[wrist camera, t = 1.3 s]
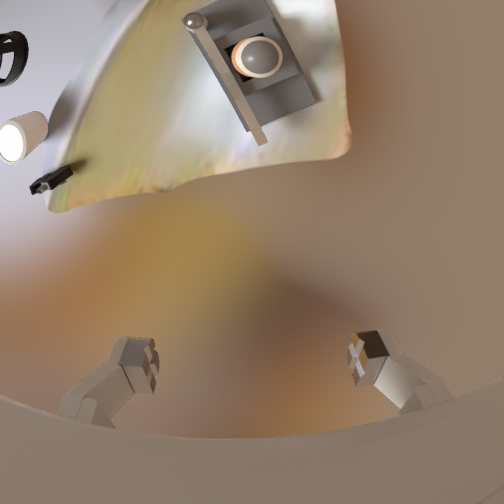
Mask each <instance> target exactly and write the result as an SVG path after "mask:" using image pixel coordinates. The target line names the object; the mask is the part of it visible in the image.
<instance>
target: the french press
mask: <svg viewBox="0 0 504 504" xmlns="http://www.w3.org/2000/svg"><path fill="white" fill-rule="evenodd" d="M8 39H11V41H12V42H7V43H4V42H5V41H6V40H8ZM28 51H29V48H28V42H27V39H26V38H25V36H24V35H23V34H22V33H21V32H18V31H12V32H9V33H5V34H0V67H1V63H2V54H4V53H9V52H14V60H13V64H12V68H11V71H10V73H9V75H8V76H7V78H6V79H1V78H0V87H1V86H7V85H10V84H12V83H14V82H15V81H16V80H17V79H18V78H19V76H20V75H21V74H22V72H23V70H24V68H25V66H26V63H27V59H28Z"/></svg>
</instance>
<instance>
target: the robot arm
mask: <svg viewBox="0 0 504 504" xmlns="http://www.w3.org/2000/svg"><path fill="white" fill-rule="evenodd" d="M351 341H352V343H351V344H350V345H349V346H348V349H347V363H348V366H349V367H350V368H351V369H352V370H354V371H353V373H352V376H353V379H354V382H355V385H356V387H358V386H365V385H371V384H374V386H375V387H377V388H378V389H379V390H380V391H381V392H382V393H383V394H385V395H386V396H387V397H388V398H389V399H390V400H391V401H392V402H393V403H394V404H396V405H397V406H398V407H399V408H400V411H399V412H398V414H397V415H396V416H395V417H393V418H389V419H385V420H381V421H377V422H372V423H368V424H363V425H359V426H353V427H348V428H343V429H337V430H331V431H325V432H318V433H311V434H302V435H293V436H282V437H269V438H268V437H267V438H245V439H211V438H188V437H174V436H163V435H154V434H146V433H139V432H131V431H126V430H120V429H116V427H115V426H114V425H113V423H112V422H111V421H110V420H111V419H112V418H113V417H114V416H115V415H116V414H117V413H118V412H119V411H120V409H121V408H122V407H123V406H124V405H125V404H126V403H127V402H128V401H129V400H130V398H131V397H132V396H133V395H134V394H135V393H141V394H154V390H155V386H156V380H155V376H156V375H157V374H158V372H159V355H158V352H157V351H155V350H154V348H155V343H154V339H152V338H142V337H128V336H118V337H117V338H116V340H115V343H114V345H113V348H112V350H111V353H110V356H109V358H108V360H107V363H106V364H102V365H101V366H99V367H98V368H97V369H95V370H94V371H93V372H91V373H90V374H89V375H87V376H86V377H85V378H84V379H82V380H81V381H79V382H78V383H77V384H75V385H74V386H73V387H72V388H70V389H69V390H68V391H66V392H65V394H64V397H63V400H62V402H61V404H60V407H59V410H58V412H57V415H56V414H52V413H49V412H45V411H43V410H40V409H37V408H33V407H31V406H28V405H25V404H22V403H20V402H17V401H15V400H12V399H10V398H7V397H5V396H2V395H0V504H504V376H501V377H499V378H497V379H495V380H493V381H491V382H489V383H487V384H485V385H483V386H480V387H478V388H476V389H474V390H471V391H469V392H467V393H464V394H462V395H459V396H457V397H454V398H453V396H452V394H451V392H450V390H449V388H448V387H447V385H446V383H445V381H444V379H443V378H442V377H440V376H439V375H437V374H436V373H434V372H432V371H431V370H429V369H428V368H426V367H425V366H423V365H421V364H420V363H418V362H417V361H415V360H413V359H412V358H410V357H409V356H407V355H405V354H401V353H400V351H399V349H398V347H397V346H396V344H395V342H394V340H393V339H392V337H391V335H390V333H389V331H388V330H387V329H386V328H383V329H376V330H368V331H361V332H354V333H353V334H352V337H351Z"/></svg>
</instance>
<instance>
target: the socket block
mask: <svg viewBox="0 0 504 504" xmlns="http://www.w3.org/2000/svg"><path fill="white" fill-rule="evenodd" d="M195 12H197V13H199V14H201V15H202V17H203V19H204V22H203V25H204V27H205V28H206V30H207V32H208V33H209V35H210V36H211V38H212V40H213V41H214V43H215V45H216V47H217V48H218V50H219V52H220V53H221V55H222V57H223V59H224V60H225V62H226V64H227V66H228V67H229V69H230V71H231V73H232V74H233V76H234V78H235V80H236V82H237V83H238V85H239V87H240V89H241V91H242V93H243V94H244V96H245V98H246V100H247V102H248V104H249V106H250V108H251V109H252V111H253V113H254V115H255V117H256V119H257V121H258V123H259V125H260V126H262V125H264V124H266V123H268V122H271V121H273V120H275V119H277V118H280V117H282V116H284V115H287V114H289V113H292V112H294V111H296V110H299V109H301V108H304V107H306V106H309V105H311V104H314V103H316V102H315V99H314V97H313V95H312V92H311V90H310V88H309V85H308V83H307V81H306V79H305V77H304V74H303V72H302V70H301V68H300V66H299V64H298V62H297V60H296V58H295V55H294V53H293V51H292V49H291V47H290V45H289V43H288V41H287V40H286V38H285V36H284V34H283V32H282V30H281V28H280V26H279V24H278V23H277V21H276V19H275V17H274V15H273V14H272V12H271V10H270V8H269V7H268V5H267V3H266V1H265V0H219V1H217V2H214V3H212V4H210V5H208V6H206V7H204V8H202V9H199V10H197V11H195ZM184 18H185V17H184ZM184 18H182V19H181V20H182V21H183V23H184ZM184 25H185V24H184ZM185 27H186V26H185ZM186 28H187V29H188V31H189V33H190V34H191V36H192V37H193V39H194V41H195V42H196V44H197V46H198V47H199V49H200V51H201V52H202V54H203V56H204V57H205V59H206V61H207V62H208V64H209V66H210V67H211V69H212V71H213V72H214V74H215V76H216V78H217V79H218V81H219V83H220V85H221V86H222V88H223V90H224V92H225V93H226V95H227V97H228V99H229V101H230V102H231V104H232V106H233V108H234V110H235V111H236V113H237V115H238V117H239V119H240V120H241V122H242V124H243V126H244V128H245V130H246V132H249V131H251V130H250V129H249V127H248V125H247V123H246V121H245V119H244V117H243V116H242V114H241V112H240V110H239V108H238V106H237V105H236V103H235V101H234V99H233V97H232V95H231V94H230V92H229V90H228V88H227V87H226V85H225V83H224V81H223V80H222V78H221V76H220V74H219V73H218V71H217V69H216V67H215V66H214V64H213V62H212V61H211V59H210V57H209V55H208V54H207V52H206V50H205V49H204V47H203V45H202V44H201V42H200V40H199V39H198V37H197V36H196V34H195V32H194V31H193V29H190V28H188V27H186ZM252 37H266V38H269V39H271V40H273V41H274V42H276V43H277V44H278V46H279V47H280V49H281V51H282V56H283V59H282V63H281V66H280V68H279V69H278V70H277V71H276V72H275V73H274V74H272V75H270V76H268V77H263V78H256V77H249V76H245V75H243V74H241V73H240V72H238V71H237V70H236V69H235V67H234V65H233V63H232V52H233V49H234V47H235V46H236V45H237V44H238V43H239V42H240V41H242V40H244V39H247V38H252Z"/></svg>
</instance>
